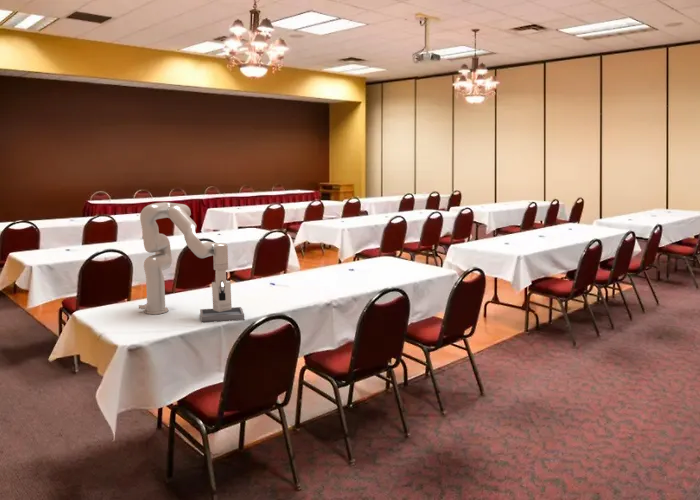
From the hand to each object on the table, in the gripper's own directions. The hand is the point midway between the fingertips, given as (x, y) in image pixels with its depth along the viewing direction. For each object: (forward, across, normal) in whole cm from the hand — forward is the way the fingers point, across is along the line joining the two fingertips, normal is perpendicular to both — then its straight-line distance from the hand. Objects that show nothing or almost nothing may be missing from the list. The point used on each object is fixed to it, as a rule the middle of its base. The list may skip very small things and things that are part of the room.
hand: (221, 298), depth 329 cm
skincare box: (+7, 0, 0) cm, 7 cm away
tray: (+10, 0, 0) cm, 10 cm away
